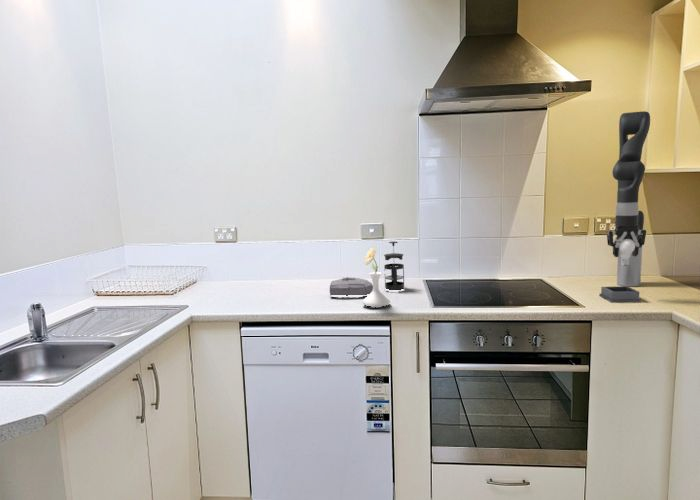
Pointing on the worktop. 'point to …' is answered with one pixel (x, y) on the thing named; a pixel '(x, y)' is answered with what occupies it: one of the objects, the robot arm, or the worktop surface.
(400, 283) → the french press
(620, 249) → the lightbulb
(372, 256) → the flower in vase
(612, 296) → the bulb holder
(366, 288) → the soft grey pack
